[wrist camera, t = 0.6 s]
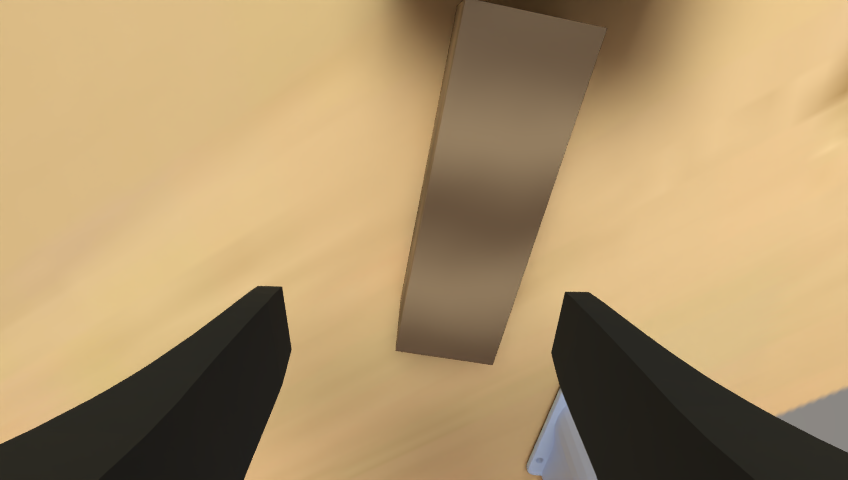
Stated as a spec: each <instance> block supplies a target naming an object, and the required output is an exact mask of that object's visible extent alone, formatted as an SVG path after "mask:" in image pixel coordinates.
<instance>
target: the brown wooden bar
mask: <svg viewBox="0 0 848 480" xmlns="http://www.w3.org/2000/svg"><path fill="white" fill-rule="evenodd" d="M606 30H607V28H605V27H600V26H595V25H591V24H586V23H582V22H577V21H572V20H568V19H563V18H558V17H554V16H549V15H544V14H540V13H535V12H530V11H526V10H521V9H516V8H512V7H507V6H502V5H498V4H493V3H489V2H484V1H479V0H463V1H462V2H461V3H460V4H459V5H457V9H456V15H455V20H454V25H453V30H452V35H451V40H450V46H449V51H448V56H447V61H446V66H445V72H444V77H443V82H442V87H441V92H440V98H439V103H438V108H437V113H436V118H435V124H434V129H433V134H432V139H431V144H430V149H429V155H428V160H427V165H426V170H425V175H424V181H423V186H422V191H421V196H420V201H419V207H418V212H417V217H416V222H415V227H414V233H413V238H412V243H411V248H410V253H409V259H408V264H407V269H406V274H405V279H404V284H403V290H402V295H401V301H400V311H399V321H398V331H397V341H396V351H401V352H407V353H414V354H421V355H428V356H434V357H441V358H448V359H455V360H461V361H468V362H475V363H482V364H488V365H493V363H494V360H495V357H496V354H497V351H498V348H499V345H500V342H501V339H502V336H503V333H504V330H505V327H506V324H507V321H508V318H509V315H510V313H511V310H512V307H513V304H514V301H515V298H516V295H517V292H518V289H519V286H520V283H521V280H522V277H523V274H524V271H525V268H526V265H527V263H528V260H529V257H530V254H531V251H532V248H533V245H534V242H535V239H536V236H537V233H538V230H539V227H540V224H541V221H542V218H543V216H544V213H545V210H546V207H547V204H548V201H549V198H550V195H551V192H552V189H553V186H554V183H555V180H556V177H557V174H558V171H559V168H560V166H561V163H562V160H563V157H564V154H565V151H566V148H567V145H568V142H569V139H570V136H571V133H572V130H573V127H574V124H575V121H576V118H577V116H578V113H579V110H580V107H581V104H582V101H583V98H584V95H585V92H586V89H587V86H588V83H589V80H590V77H591V74H592V71H593V68H594V66H595V63H596V60H597V57H598V54H599V51H600V48H601V45H602V42H603V39H604V36H605V33H606Z"/></svg>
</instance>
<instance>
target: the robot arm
mask: <svg viewBox="0 0 848 480" xmlns="http://www.w3.org/2000/svg"><path fill="white" fill-rule="evenodd" d="M290 353H291V343H290V336H289V329H288V323H287V316H286V310H285V303H284V297H283V290H282V287H274V286H257V287H256V288H254V289H253V290H251V291H250V292H249V293H247V294H246V295H245V296H243V297H242V298H241V299H239V300H238V301H237V302H235V303H234V304H233V305H232V306H230V307H229V308H228V309H226V310H225V311H224V312H222V313H221V314H220V315H218V316H217V317H216V318H214V319H213V320H212V321H210V322H209V323H208V324H206V325H205V326H204V327H202V328H201V329H200V330H198V331H197V332H196V333H194V334H193V335H192V336H190V337H189V338H187V339H186V340H184V341H183V342H181V343H180V344H179V345H177V346H176V347H174V348H173V349H171V350H170V351H168V352H167V353H165V354H164V355H163V356H161V357H160V358H158V359H157V360H155V361H154V362H152V363H151V364H149V365H148V366H146V367H144V368H143V369H141V370H140V371H138V372H136V373H135V374H133V375H132V376H130V377H128V378H127V379H125V380H123V381H122V382H120V383H118V384H116V385H115V386H113V387H111V388H110V389H108V390H106V391H104V392H103V393H101V394H99V395H97V396H95V397H94V398H92V399H90V400H88V401H86V402H84V403H82V404H80V405H78V406H77V407H75V408H73V409H71V410H69V411H67V412H65V413H63V414H61V415H59V416H57V417H55V418H53V419H51V420H49V421H47V422H46V423H44V424H42V425H40V426H38V427H36V428H34V429H32V430H30V431H28V432H26V433H23V434H21V435H19V436H17V437H15V438H13V439H11V440H8V441H6V442H4V443H2V444H0V480H244V478H245V475H246V473H247V470H248V468H249V465H250V463H251V460H252V458H253V455H254V453H255V451H256V448H257V446H258V443H259V441H260V438H261V436H262V434H263V431H264V429H265V426H266V424H267V421H268V419H269V417H270V414H271V412H272V409H273V407H274V404H275V402H276V399H277V397H278V394H279V392H280V389H281V387H282V383H283V380H284V376H285V373H286V369H287V365H288V361H289V357H290ZM551 354H552V358H553V362H554V366H555V370H556V374H557V377H558V381H559V384H560V389H559V392H558V394H557V396H556V399H555V401H554V403H553V405H552V408H551V410H550V412H549V415H548V417H547V419H546V421H545V424H544V426H543V428H542V431H541V433H540V435H539V438H538V440H537V442H536V444H535V447H534V449H533V451H532V454H531V456H530V458H529V461H528V463H527V466H526V467H527V471H528V473H530V474H532V475H540V476H542V479H543V480H848V453H847V452H845V451H843V450H841V449H839V448H837V447H835V446H833V445H831V444H828V443H826V442H824V441H822V440H820V439H818V438H816V437H814V436H812V435H810V434H808V433H806V432H804V431H802V430H800V429H798V428H796V427H795V426H792V425H791V424H789V423H787V422H785V421H783V420H781V419H779V418H777V417H775V416H773V415H772V414H770V413H768V412H766V411H764V410H762V409H761V408H759V407H757V406H755V405H753V404H752V403H750V402H748V401H747V400H745V399H743V398H741V397H740V396H738V395H736V394H735V393H733V392H731V391H730V390H728V389H726V388H724V387H723V386H721V385H719V384H718V383H716V382H715V381H713V380H711V379H710V378H708V377H707V376H705V375H703V374H702V373H700V372H699V371H697V370H696V369H694V368H693V367H691V366H690V365H688V364H687V363H686V362H684V361H683V360H681V359H680V358H678V357H677V356H675V355H674V354H672V353H671V352H669V351H668V350H667V349H665V348H664V347H662V346H661V345H660V344H658V343H657V342H655V341H654V340H653V339H651V338H650V337H649V336H647V335H646V334H645V333H643V332H642V331H641V330H639V329H638V328H637V327H635V326H634V325H633V324H631V323H630V322H629V321H627V320H626V319H625V318H623V317H622V316H621V315H619V314H618V313H617V312H616V311H614V310H613V309H612V308H610V307H609V306H608V305H606V304H605V303H604V302H602V301H601V300H599V299H598V298H597V297H595V296H594V295H592V294H591V293H589V292H565V295H564V299H563V304H562V308H561V312H560V317H559V321H558V326H557V330H556V334H555V339H554V343H553V348H552V352H551Z"/></svg>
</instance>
